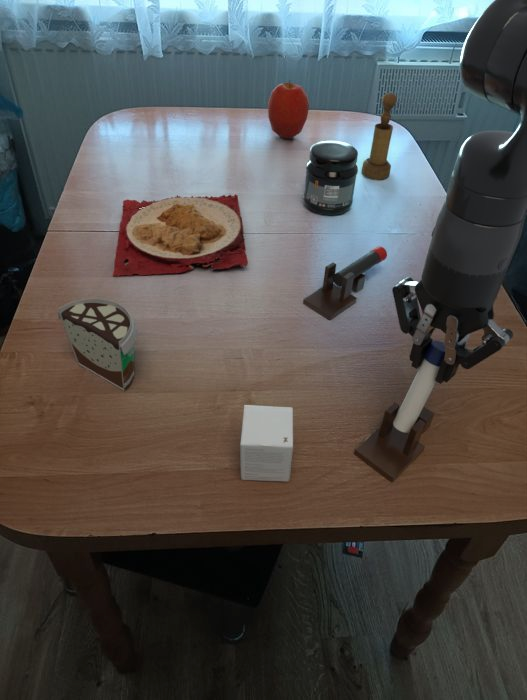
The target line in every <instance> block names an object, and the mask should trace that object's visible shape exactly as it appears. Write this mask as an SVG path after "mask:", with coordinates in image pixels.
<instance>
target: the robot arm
mask: <svg viewBox="0 0 527 700" xmlns="http://www.w3.org/2000/svg"><path fill="white" fill-rule="evenodd" d="M458 68H459V76H460V80H461V82H462V84H463V86H464V88H465V89H466V90H467V91H468V92H469V93H471V94H472V95H473V96H475V97H477V98H478V99H481V100H483V101H486V102H488V103H490V104H491V105H492V104H493V105H495V106H498V107H500V108H503V109H505V110H507V111H509V112H511V113H513V114H516V115H518V116H520V119H519V123H518V125H517V127H516V129H515V130H514V131H505V130H483V131H479V132H475V133H474V134H472V135H470V136H469V137H468V138H467V139H466V140H465V141H464V142H463V143H462V145H461V146H460V148H459V151H458V152H457V156H456V159H455V162H454V167H453V170H452V172H451V177H450V180H449V184H448V188H447V191H446V195H445V199H444V202H443V205H442V206H441V209H440V211H439V213H438V216H437V219H436V221H435V225H434V227H433V228H432V231H431V239H430V244H429V247H428V251H427V254H426V258H425V262H424V266H423V270H422V274H421V279H420V280H419V281H414V279H413V278H412V277H409V276H406V277H405V278H404V279H402V280H401V281H399V282H398V283H397V284H395V286H393V287H392V291H391V292H392V297H393V300H394V305H395V310H396V315H397V319H398V324H399V329H400V331H401V332H402V334H405V335H408V334H409V335H410V336H411V340H412V346H411V350H410V353H409V362H411V367H412V368H413V369H415V370H419V368H420V366H421V364H422V362H423V360H424V358H425V357H424V356H425V354H426V352H427V350H428V348H429V346H430V344H431V342H432V341H434V340H433V338H432V335H434V333H435V331H436V329H438V330H440V331H441V332H442V333H444V334H445V337H444V342H443V343H444V346H446V351H445V357H444V359H443V360H442V362H441V365H440V368H439V371H438V373H437V376H436V379H435V381H436V383H438V384H439V385H442V384H443V383H444V382H445V383H449V382H450V381H451V380H452V379H453V378H454V377H455V376H456V374H457V371H458V369H459V367H460V366H461V367H462V368H463V369H465V370H470V369H471V368H473V367H475V366H476V365H478V364H480V363H482V362H483V361H485V360H486V359H487V358H489V357H492V356H493V355H494V354H496V353H498V352H499V351H500V350H502V349H503V348H504V346H506V345H507V344H508V342H510V341H511V340H512V339H513V337H514V332H513V331H512V330H511V329H510V328H503V329H502V328H501V327H500V326H499V325H498V324H497V322H495V321H494V318H495V312H494V304H495V301H496V299H497V297H498V294H499V292H500V290H501V287H502V285H503V283H504V280H505V277H506V274H507V272H508V270H509V268H510V264H511V262H512V260H513V257H514V255H515V253H516V250H517V247H518V245H519V242H520V240H521V236H522V233H523V228H524V224H525V220H526V217H527V0H493V1H492V2H491V3H490V4H489V6H488V7H486V8H485V10H484V11H483V12H482V13H481V15H480V16H479V17H478V18H477V20H476V21H475V22H474V24H473V26H472V28H471V29H470V31H469V32H468V34H467V36H466V38H465V40H464V43H463V46H462V48H461V53H460V58H459V67H458ZM419 306H420V308H419ZM420 310H421V311H420ZM420 312H421V313H422V315H421V313H420ZM479 330H483V335H482V336H481V342H480V344H479V345H477V346H476V347H474V348H472V349H468V348H467V347H468V342H469V339H470V337H471V335H472V333H474V332H478V331H479Z"/></svg>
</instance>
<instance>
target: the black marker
mask: <svg viewBox="0 0 527 700" xmlns="http://www.w3.org/2000/svg"><path fill="white" fill-rule="evenodd" d="M387 257H388V252H387V249H386V248H385V247H383V246H380V245H378V246H376V247H374V248H373V249H371V250H370V251H369V252H367V253H366V254H364V255H363V256H361V257H360V258H358V259H356V260H355V261H353V262H351V263H350V264H348V265H347V266H345V267H343V268H342V269H340V270H339V271H337V272H335V274H334V275H333V281H334V283H333V284H334V285H336V286H337V287H339V288H342V283H343V277H344V276H346V275H347V274H349V273H350V272H351V273H353V274H355V275H354V278H356V277H357V276H359V275H360V274H364V273H365V272H366V271H368V270H370V269H371V268H373V267H374V266H376V265H378V264H380V263H382V262H383V261H385V260H386V259H387Z"/></svg>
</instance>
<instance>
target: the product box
mask: <svg viewBox="0 0 527 700" xmlns="http://www.w3.org/2000/svg"><path fill="white" fill-rule="evenodd" d="M241 421H242V422H241V433H240V442H239V450H240V451H239V452H240V453H239V455H240V456H239V457H240V462H239V463H240V480H241V481H259V482H260V481H261V482H283V483H284V482H285V483H288V482H290V480H291V471H292V460H293V452H294V408H293V407H292V406H273V405H256V404H255V405H254V404H244V405H243V413H242V420H241Z"/></svg>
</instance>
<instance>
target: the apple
mask: <svg viewBox="0 0 527 700" xmlns="http://www.w3.org/2000/svg"><path fill="white" fill-rule="evenodd" d="M303 88H304V87H302V86H301V85H298V84H295V83H291V79H289V82H285V83H279V84H278V85H276V87H275V88H274V89H273V90H271V92H270V95H269V99H268V101H267V114H268V120H269V123H270V127H271V130H272V132H274V133H275V134H276V135H277V136H278V137H280V138H282V139H292V138H295V137H296V136H297V135H299V134H300V133H301V132H302V131H303V128H304V126H305V124H306V122H307V120H308V115H309V110H310V102H309V99H308V93H307V92H306V91H305V89H303Z"/></svg>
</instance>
